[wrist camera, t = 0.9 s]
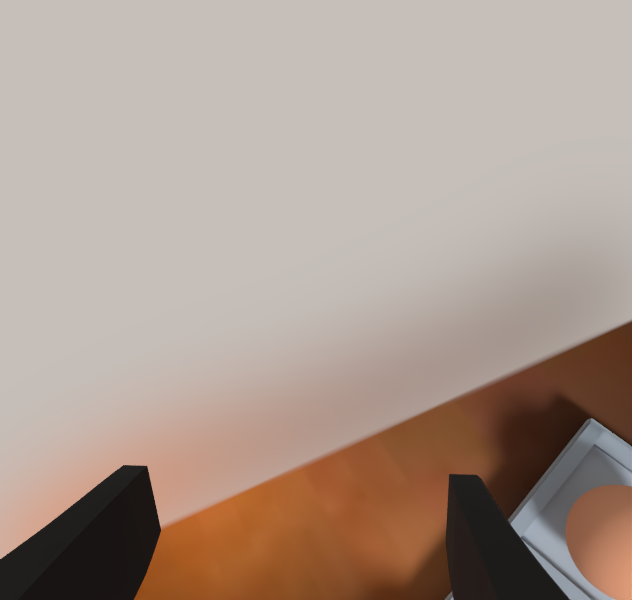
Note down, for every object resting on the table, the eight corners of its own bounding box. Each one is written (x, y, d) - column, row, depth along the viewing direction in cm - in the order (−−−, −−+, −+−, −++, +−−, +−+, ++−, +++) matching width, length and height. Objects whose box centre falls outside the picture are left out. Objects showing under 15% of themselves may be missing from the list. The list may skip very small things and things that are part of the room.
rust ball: (691, 532, 20) (741, 550, 16) (628, 613, 20) (665, 650, 16) (595, 461, 21) (622, 462, 18) (537, 535, 21) (551, 552, 18)
